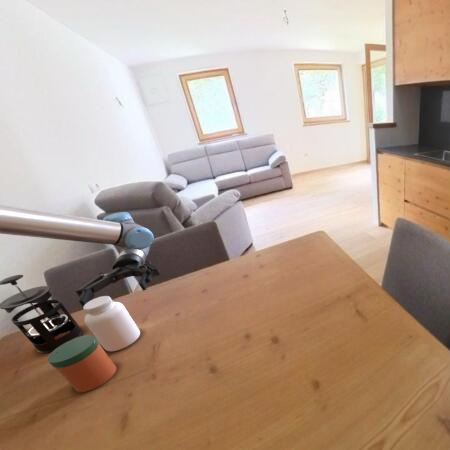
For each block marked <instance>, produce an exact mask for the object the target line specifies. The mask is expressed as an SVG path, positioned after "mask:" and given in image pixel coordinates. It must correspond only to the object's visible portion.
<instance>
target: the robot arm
mask: <svg viewBox="0 0 450 450" xmlns="http://www.w3.org/2000/svg"><path fill="white" fill-rule="evenodd" d="M0 235H9V236H21V237H29V238H30V237H31V238H41V239H51V240H60V241H61V240H62V241H72V242H83V243H90V244H91V243H93V244H102V245H111V246H116V247H117V249H118V250H119V254H118V256H117V257H116V259H115V261H114V263H113V264H112V269H111V271H109V272H108V273H104V272H99V273H98V274H96V276H95V277H93V278H92V279H90V280H89V281H87V282H85V283H84V285H82V286H80V287H79V288H77V289H76V290H75V293H76V294H77V296H78V297H79V300H78V302H79V304H80V305H81V306H82V308H83V307H84V305H85V304H86V303H88V302H89V301H91V300H93V299H94V298H95V296H96V293H98V292H100V291H101V290H103V289H105V288H106V287H108V286H109V285H111V284H115V283H117V282H119V281H121V280H124V279H126V278H131V277H137V278H138V277H141V278H140V280H139V282H138V285H139V287H140V289H141V290H142V291H146V290H147V288H148V285H149V283H151V282H152V281H153V278H154V277H155V276H156V277H158V276H161V274H162V273H161V272H160V269H159V268H158V267H157V266H155V265H154V264H153V263H151V261H150V260H149V259H148V260H147V256H148V255H149V253H150V248H151V245H152V244H153V243H154V241H155V240H154V239H155V236H154V234H153V232H152V231H151V230H150V229H148V228H146V227H144V226H142V225H140V224H138V223H136V222H135V221H134V218H133V217H132V216H131V214H130V213H129V212H126V211H120V212H115V213H112V214H108V215H106V216H104V217H103V218H102V219H98V218H97V219H96V218H90V217H85V216H76V215H71V214H64V213H58V212H51V211H45V210H39V209H31V208H25V207H18V206H11V205H6V204H0Z"/></svg>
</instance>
